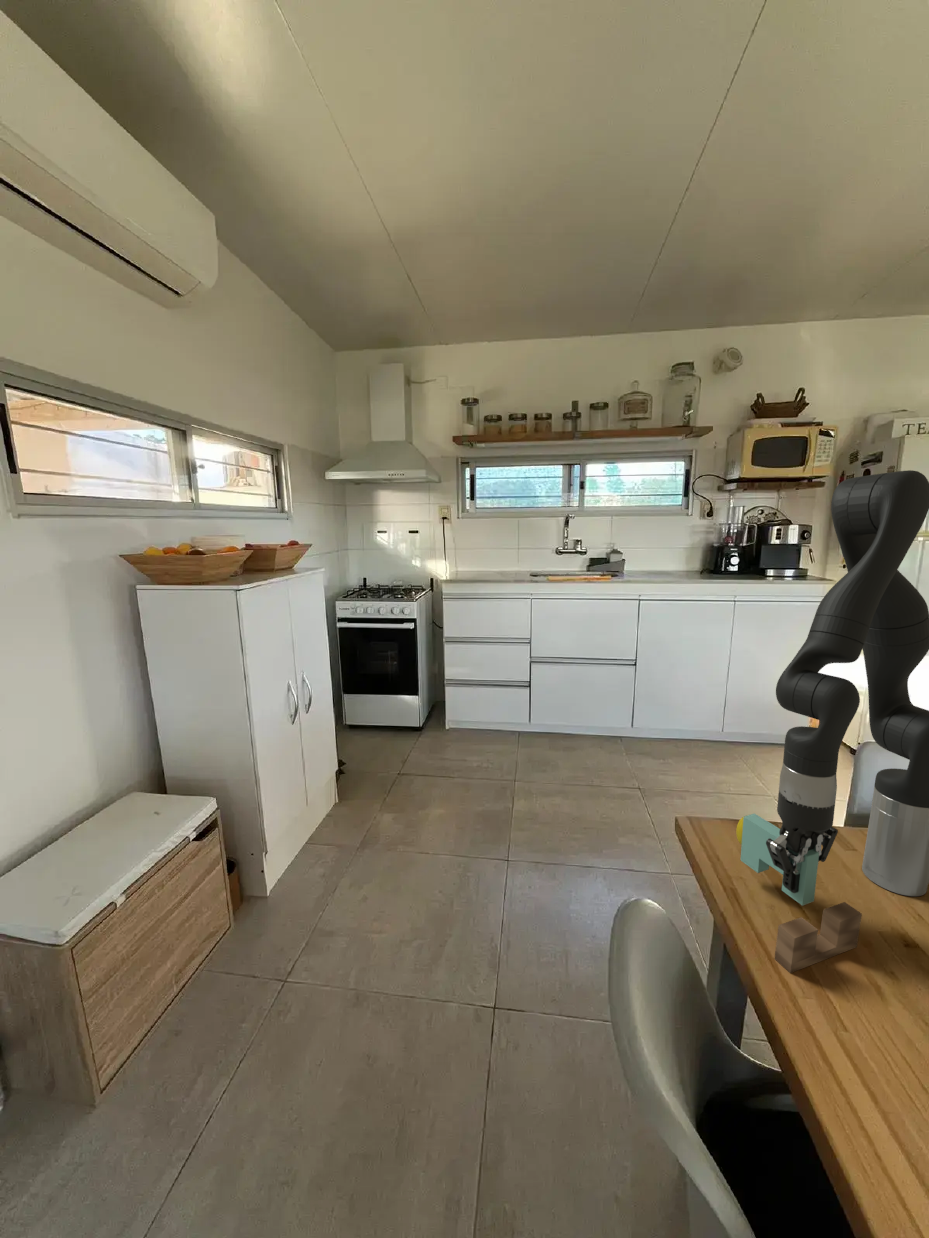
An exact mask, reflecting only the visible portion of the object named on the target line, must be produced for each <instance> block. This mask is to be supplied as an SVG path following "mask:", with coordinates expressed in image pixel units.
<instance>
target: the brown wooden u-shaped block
mask: <svg viewBox="0 0 929 1238" xmlns="http://www.w3.org/2000/svg"><path fill="white" fill-rule="evenodd" d="M862 917H863V913H861V911H860V910H859V911H858V909H856V908H854V907H853V906H852V905H850V904H848V903H847V902H846V901H843V902H841V903H838V904H835V905H831V906H829V907H825V908H824V909H823V910H822V916H821V922H820V923H821V924H820V931H819V929H818V928H817V927H815V926H814V925H813V924H811V923H810V922H809V921H808V920H806V919H804V918H803V917H802V916H800V917H798V918H795V919H792V920H789V921H785V922H784V923H780V924H778V928H777V935H776V944H775V945H776V946H775V953H774V960H775V961H777V963H778V964H780V965H781V967H783V968H784V969H785V970H786V971H787V972H788V973H789V974H792V973H794V972H797V971H799V970H802V969H804V968H807V967H810V966H812V965H815V964H817V963H820V962H823V961H825V960H827V959H830V958H833V957H834V956H837V955H840V954H843V953H845V952H848V951H850V950H853V949H855V948H857V947H858V942H859V935H860V929H861V923H862ZM818 933H819V934H818Z"/></svg>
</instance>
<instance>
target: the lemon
mask: <svg viewBox="0 0 929 1238" xmlns="http://www.w3.org/2000/svg"><path fill="white" fill-rule="evenodd" d="M743 818H744V816H742V817H741V818H740V819H739V820H738V823H737V825H736V829H735V831H736V833H735V834H736V835H735V836H736V838H737V841H738V843H739V844H740V845H741V846H742V832H743Z"/></svg>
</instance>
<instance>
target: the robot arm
mask: <svg viewBox="0 0 929 1238" xmlns="http://www.w3.org/2000/svg"><path fill="white" fill-rule="evenodd" d="M830 506H831V508H830V511H831V517H832V518H831V519H832V524H833V528H834V531H835V534H836V535H835V536H836V537H837V541H838V544H839V547H840V550H841V553H842V554H841V555H842V557H843V559H844V563H845V567H846V570H847V573H845V574H844V575H843V576H842V577H841V578H840V579H839V580H838V581H837V582H836V583H835V584H834V585H832V587H831V588H830V589H829V590H828V591H827V592H826V594H825V595H824V597H823V598H822V599H821V601H820V603H819V605H818V607H817V609H816V612H815V613H814V614H815V615H814V616H813V619H812V622H811V625H810V628H809V632H808V633H807V637H806V639H805V641H804V643H803V644H802V646H801V647H800V649H798V651H797V653H796V654H795V656H794V657H793V659H792V660H791V661H790V662H789V663H788V665H787V666H786V668H784V671H782V673H781V675H780V676H779V677H778V680H777V682H776V683H777V684H776V687H775V697H776V700H777V702H778V704H779V705H780V706H781V707H782V708H783V709H784V710H786V711H789V712H792V713H795V714H798V715H802V716H803V717H807V718H811V719H814V720H817V721H819V725H818V727H814V726H813V727H812V726H794V727H792V728H789V729H788V730H787V732H786V733H785V736H784V748H783V758H782V759H783V761H782V766H781V770H780V774H779V783H778V785H779V786H778V795H777V796H778V797H777V807H776V808H777V809H776V811H777V814H778V816H779V819H780V820H781V823H782V824H781V827H780V828H779V829H780V832H779V834H780V836H779V837H778V838H777V839H776V840H772V839H770V838H769V839H767V841H766V845H767V848H768V850H769V853H770V856H771V858H772V861H773V864H774V865H775V866H777V867H778V868H780V869H781V870H783V871H784V873H783V875H782V881H783V885H784V887H785V888H787V889H788V890H790V891H791V892H792V893H797V892H798V890H799V880H800V869H801V865H802V862H805V857H806V855H807V852H808V851H809V850H812V849H813V851H815V852H819V858H818V863H819V862H822V863H825V861H826V860H827V858H828V855H829V854H830V852H831V849H832V846H833V844H834V842H835V840H836V837H837V835H838V829H837V828H835V827H834V826H833V825H834V820H835V819H834V818H835V809H836V808H835V807H836V798H837V791H838V783H837V771H838V770H837V769H838V761H839V752H840V748H841V745H842V743H843V740H844V737H845V736H846V734H847V731H848V728H849V726H850V725H851V723H852V721H853V720H854V717H855V715H856V713H857V711H858V709H859V706H860V703H861V702H860V701H861V699H860V693H859V690H858V688H857V687H856V685H855V684H854V683H853V682H852V681H850V680H848V679H846V678H843V677H839V676H834V675H829V674H825V673H821V672H820V671H821V670H822V669H823V668H824V667H825V666H827V665H830V664H850V663H851V664H852V663H855V662H856V661H857V660H858V659H859V658H860V655H861V654H862V653H863V659H864V660H863V661H864V665H865V666H864V667H865V672H866V673H865V674H866V680H867V692H868V693H867V694H868V696H867V697H868V715H869V717H868V719H869V729H870V733H871V737H872V738H873V740H874V742H875V743H876V745H878V746H880V747H881V748H882V749H884V750H886V751H887V752H891V753H892V754H895V755H897V756H900V757H902V758H904V759H907V760H909V762H908V766H907V769H906V768H905V769H904V768H884V769H881V770H878V772H877V773H876V775H875V780H874V787H873V794H872V798H871V799H872V800H871V807H870V815H869V821H868V827H867V833H866V840H865V846H864V853H863V859H862V865H861V870H862V872H863V874H864V876H865V877H866V878H868V880H870V881H871V882H873V883H874V884H876V885H878V886H879V887H881V888H882V889H885V890H888V891H890V892H892V893H895V894H898V895H902V896H906V897H907V896H908V897H920V896H923V895H925V894H926V893H927V891H928V887H929V886H928V885H929V709H925V708H922V707H919V706H916V705H914V704H913V703H912V702H911V698H910V695H909V686H908V685H909V684H908V681H909V677H910V676H911V674H912V673H913V671H914V670H915V669H916V667H917V666H918V665H919V664H921V662H922V661H923V660H924V658H925V657H926V655H927V654H928V652H929V607H928V604H927V602H926V600H925V597H923V595H922V594H921V592H920V591H919V590H918V589H917V588H916V587H915V586H914V585H913V584H912V583H911V582H910V581H909V580H908V579H907V578H906V576H905V575H903V574H902V572H900V570H898V569H899V568H900V566H901V564H902V562H903V560H904V558H906V555H907V554H908V552H909V549H910V548H911V546H912V545H913V542H914V541H915V539H916V537H917V536H918V534H919V532H920V530H921V529H922V527H923V524H924V522H925V520H926V518H927V515H928V513H929V479H928V478H927V477H926V475H924V474H923V473H922V472H920V471H918V470H911V469H910V470H900V471H891V472H890V471H889V472H884V473H882V472H881V473H877V474H876V473H875V474H870V475H869V474H868V475H862V476H861V475H860V476H856V477H850V478H847V479H844V480H842V481H841V482H840V483H839V484H838V485H837V486H836V487H835V489H834V492H833V493H832V497H831V505H830ZM795 852H796V853H795ZM797 853H798V854H797ZM790 858H792V859H793V860H794V864H792V863H791V862H790Z"/></svg>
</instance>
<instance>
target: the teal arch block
mask: <svg viewBox="0 0 929 1238" xmlns="http://www.w3.org/2000/svg"><path fill="white" fill-rule="evenodd" d="M743 817H744V818H743V832H742V845H741V846H740V847H741V848H740V861H741V862H742V863H743V864H745V865H746V866H748V867H749V868H750V869H752V870H753V871H754V872H755V873H756V874H759V873H762V872H765V871H768V870H770V867H771V868H773V869H774V870H775V871H777V872H779V874H781V875H782V876H783V873H784V871H783V870H781V869H780V868H778V867H777V866H775V865H774V864H773V861H772V858H771V856H770V853H769V850H768V848H767V845H766V841H767V839H769V838H770V839H772V840H776V839H777V838H778V837H779V836H780V834H779V832H780V829H781V828H779V827H778V826H776V825H774V824H773V823H771V822H769V821H768V820H766V819H765V818H763V817H761V816H759V815H758V814H756V813H755V812H753V813H751V814H748V815H745V816H743ZM795 853H796V852H795ZM797 854H798V853H797ZM818 858H819V852H815V851H813V849H812V850H809V851H808V852H807V855H806V857H805V862H802V865H801V869H800V880H799V890H798V892H797V893H792V892H791V891H790V890H788V889H787V888H785V887H784V885H783V880H782V883H781V891H782V892H783V893H784V894H786V895H787V896H788V897H790V898H791V899H792V900H794V901H796V902H797V903H798V904H799V905H801V906H802V907H803V906H805V905H808V904H810V903H813V902H815V895H816V886H817V885H816V884H817V876H818V875H817V874H818V867H819V862H818ZM790 862H791V863H792V864H794V860H793V859H792V858H790Z"/></svg>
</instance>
